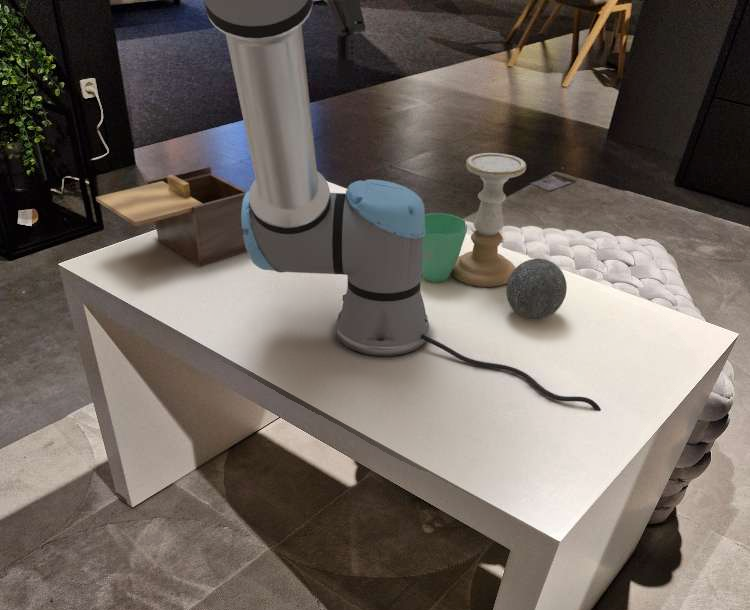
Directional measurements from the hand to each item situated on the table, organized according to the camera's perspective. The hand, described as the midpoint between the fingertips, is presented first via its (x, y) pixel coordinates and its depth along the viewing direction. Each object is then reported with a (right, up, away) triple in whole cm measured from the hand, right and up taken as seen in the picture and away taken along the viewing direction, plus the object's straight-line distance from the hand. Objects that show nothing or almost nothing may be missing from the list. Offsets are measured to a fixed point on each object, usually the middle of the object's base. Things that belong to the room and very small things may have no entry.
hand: (319, 74), depth 124 cm
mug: (+19, -28, +16) cm, 38 cm away
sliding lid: (-32, -17, +12) cm, 38 cm away
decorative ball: (+37, -40, +4) cm, 54 cm away
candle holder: (+30, -29, +17) cm, 44 cm away
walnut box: (-24, -20, +24) cm, 39 cm away
